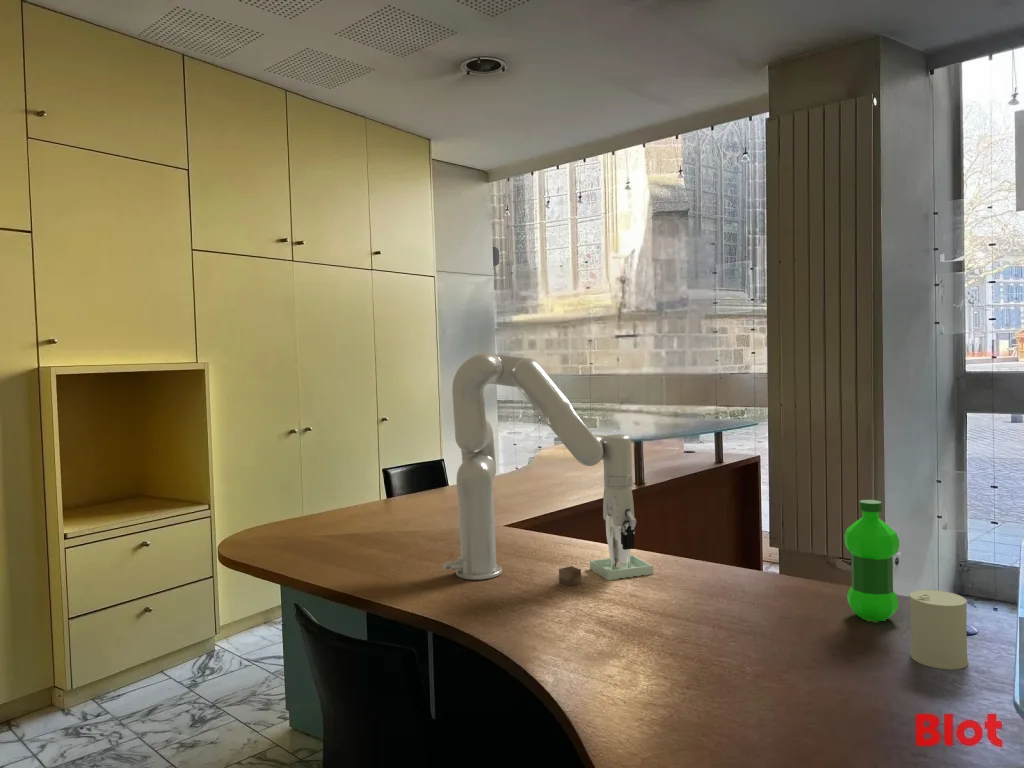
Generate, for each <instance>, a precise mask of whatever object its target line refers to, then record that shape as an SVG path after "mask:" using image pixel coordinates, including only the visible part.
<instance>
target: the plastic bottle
mask: <svg viewBox="0 0 1024 768" xmlns="http://www.w3.org/2000/svg"><path fill="white" fill-rule="evenodd" d="M858 503H859V511H861V513H862V516H861V517H860V518H858V519H857V520H856V521H854V522H853V523H852V524H851V525H849V526H848V527H847V528H846V529H845V532H844V534H843V541H844V544H845V548H846V549H847V550H848V552H849V553H850V557H851V558H850V560H851V561H850V563H851V564H850V565H851V567H850V568H851V569H850V570H851V572H850V573H851V586H850V588H849V590H848V591H847V594H846V597H847V598H846V599H847V603H848V605H849V607H850V608H851V610H852V612H853V613H854V614H856V616H858V617H859V618H860V617H861V618H863V619H865V620H870V621H884V620H886V619H889V618H891V617H892V616H893V615H894V614H895V613H896V612H897V611H898V609H899V600H898V597H897V595H896V593H895V592H894V576H893V575H894V573H893V571H894V569H893V557H894V556H895V555H897V553H898V552H899V549H900V538H899V536H898V534H897V532H896V531H895V530H893V529H892V528H891V527H890V526H889V525H888V524H887V523H886V522H885V521H884V520H882V519H881V518H880V512H883V509H882V508H883V506H882V505H883V502H882V501H880V500H876V499H861V500H859V502H858ZM861 618H860V619H861ZM863 619H862V620H863ZM865 620H864V621H865ZM886 621H887V620H886ZM884 622H885V621H884Z"/></svg>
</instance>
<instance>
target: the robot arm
mask: <svg viewBox="0 0 1024 768" xmlns="http://www.w3.org/2000/svg"><path fill="white" fill-rule="evenodd" d="M487 385H499V386H506V387H512V388H516V389H518V390H519V391H520V393H521V394H522V395H523V397H525V399H526V400H527V401H528V402H529V403H530V404H531V406H532V407H533V408H534V409H535V411H536V412H537V413H538V414H539V415H540V417H541V419H543V421H544V422H545V424H546V425H547V426H548V427H549V428H550V429H551V431H552V432H553V433H554V434H555V436H557V438H558V439H559V440H560V442H561V443H562V444H563V445H564V446H565V448H566V449H567V451H569V452H570V454H571V456H573V458H574V459H575V460H576V461H577V462H578V463H580V464H581V465H583V466H585V467H586V466H587V467H592V466H596V465H597V464H599V463H600V462H601V461H602V462H603V486H604V488H603V496H602V497H603V501H602V503H603V504H602V507H603V508H602V510H603V511H602V514H603V515H602V518H603V520H604V522H605V525H606V514H608V515H609V516H612V517H613V524H614V525H615V526H620V525H621V527H622V530H623V533H624V534H622V547H623V549H624V550H628V549H630V550H633V549H635V533H636V531H635V530H636V524H637V519H636V518H635V508H634V507H635V505H634V498H633V497H634V496H633V489H632V488H633V485H634V484H633V483H634V482H633V480H634V479H633V457H632V455H633V454H632V453H633V451H632V449H633V448H632V440H631V437H630V436H629V435H628V434H622V433H621V434H618V433H617V434H607V435H604V434H601V435H600V434H593V433H592V431H591V430H590V429H589V427H587V425H586V424H585V423H584V422H583V420H582V419H581V417H580V416H579V415H578V413H576V410H575V409H574V407H573V405H572V404H571V402H570V400H569V399H568V397H567V395H565V393H563V391H561V389H560V388H559V387H558V386H557V384H556V383H555V381H554V380H553V379H552V378H551V377H550V376H549V375H548V373H547V372H546V371H545V369H544V368H543V366H542V365H541V363H540V362H539V361H538V360H536V359H534V358H527V357H517V356H510V355H503V354H496V353H490V352H489V353H488V352H480V353H477V354H475V355H473V356H471V357H470V358H468V359H467V360H465V361H464V362H463V363H462V364H461V365H460V366H459V367H458V369H457V371H456V373H455V374H454V376H453V380H452V387H451V388H452V389H451V391H452V405H453V407H452V408H453V410H452V411H453V423H454V439H455V442H456V444H457V446H458V447H459V449H461V450H460V452H461V461H462V463H461V464H460V465H459V467H458V470H457V473H456V490H457V499H458V514H459V515H458V517H459V535H460V536H459V537H460V539H459V540H460V541H459V543H460V556H457V557H458V559H455V560H454V561H444V562H443V569H444V570H450V571H455V575H456V576H457V577H458V578H460V579H465V580H471V581H472V580H474V581H475V580H479V581H480V580H488V579H492V578H496V577H498V576H500V575H501V574H502V573H503V567H502V566H501V565H500V564H498V563H497V547H496V545H497V544H496V523H495V522H496V521H495V519H496V518H495V504H494V503H495V501H494V490H493V489H494V488H493V487H494V485H493V482H494V479H495V476H496V473H497V464H496V463H497V462H496V451H495V440H494V432H493V429H492V425H491V423H490V421H488V420H487V418H486V410H485V407H486V406H485V397H484V389H485V387H486V386H487ZM624 521H628V522H625V523H623V522H624ZM625 526H628V527H627V529H626V527H625Z"/></svg>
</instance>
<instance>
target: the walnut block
mask: <svg viewBox="0 0 1024 768" xmlns="http://www.w3.org/2000/svg"><path fill="white" fill-rule="evenodd" d="M558 580H559V581H558V583H559V585H560V584H561V586H562V587H565V586H566V587H565V588H567V589H570V588H569V587H571V588H574V586H575V587H578V585H579V586H582V569H580V568H578V567H575V566H571V565H570V566H567V567H562V568H558Z"/></svg>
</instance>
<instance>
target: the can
mask: <svg viewBox="0 0 1024 768" xmlns="http://www.w3.org/2000/svg"><path fill="white" fill-rule="evenodd" d="M909 602H910V641H911V642H910V657H911V659H912V660H913V661H915V662H917V663H918V664H921V665H923V666H926V667H929V668H934V669H939V670H947V671H948V670H949V671H950V670H955V671H956V670H961V669H965V668H967V666H968V665H969V660H968V644H967V643H968V642H967V638H968V634H967V607H968V606H967V603H968V600H967V599H966V598H965V597H964V596H962V595H959V594H957V593H955V592H950V591H944V590H937V589H919V590H918V589H917V590H913V591H911V592H910V593H909Z"/></svg>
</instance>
